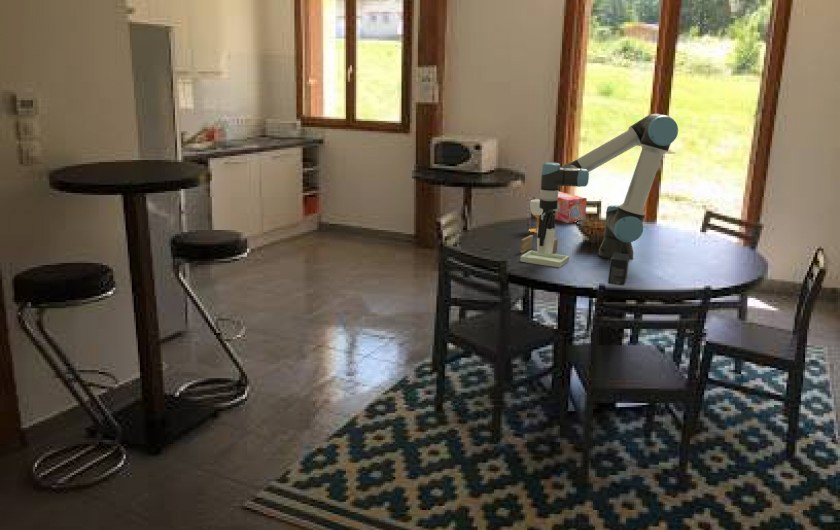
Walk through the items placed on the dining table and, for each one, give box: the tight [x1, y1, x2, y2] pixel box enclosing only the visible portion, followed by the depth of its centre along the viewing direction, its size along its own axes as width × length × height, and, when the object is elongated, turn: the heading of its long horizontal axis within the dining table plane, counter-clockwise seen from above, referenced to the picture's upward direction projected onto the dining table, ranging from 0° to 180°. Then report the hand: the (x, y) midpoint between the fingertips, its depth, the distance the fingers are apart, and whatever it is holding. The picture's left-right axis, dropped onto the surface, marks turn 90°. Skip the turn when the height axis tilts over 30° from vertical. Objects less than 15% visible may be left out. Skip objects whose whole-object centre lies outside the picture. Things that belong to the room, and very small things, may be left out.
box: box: [554, 191, 588, 224], centre depth 386 cm, size 27×13×14 cm, turn 25°
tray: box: [519, 249, 570, 268], centre depth 298 cm, size 18×12×2 cm, turn 60°
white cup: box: [536, 227, 556, 253], centre depth 296 cm, size 8×8×10 cm
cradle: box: [520, 234, 559, 254], centre depth 313 cm, size 13×12×6 cm
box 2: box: [607, 252, 630, 286], centre depth 270 cm, size 11×7×10 cm, turn 158°
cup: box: [528, 198, 543, 234], centre depth 353 cm, size 9×9×16 cm
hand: (544, 250), depth 297 cm, fingers closed on white cup, 8 cm apart
